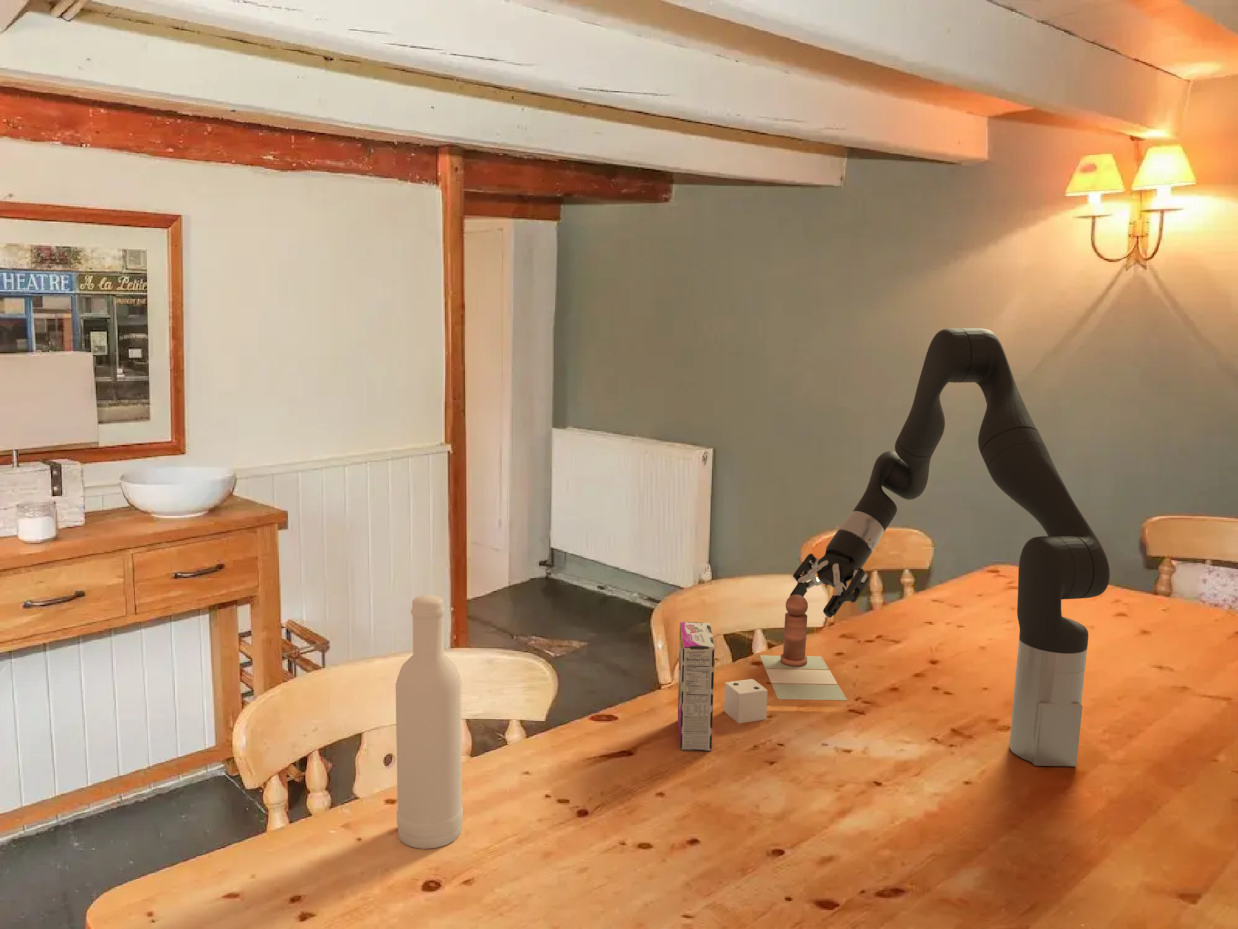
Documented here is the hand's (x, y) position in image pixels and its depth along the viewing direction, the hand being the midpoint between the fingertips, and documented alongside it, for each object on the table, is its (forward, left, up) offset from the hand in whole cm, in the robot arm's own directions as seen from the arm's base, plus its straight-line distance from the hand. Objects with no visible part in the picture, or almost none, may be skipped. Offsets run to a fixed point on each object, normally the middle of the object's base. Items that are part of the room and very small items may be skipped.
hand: (809, 608), depth 181 cm
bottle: (-62, +59, -11) cm, 86 cm away
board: (-9, +3, -10) cm, 14 cm away
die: (-25, +15, -10) cm, 30 cm away
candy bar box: (-33, +24, -11) cm, 42 cm away
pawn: (-2, +3, -10) cm, 10 cm away
